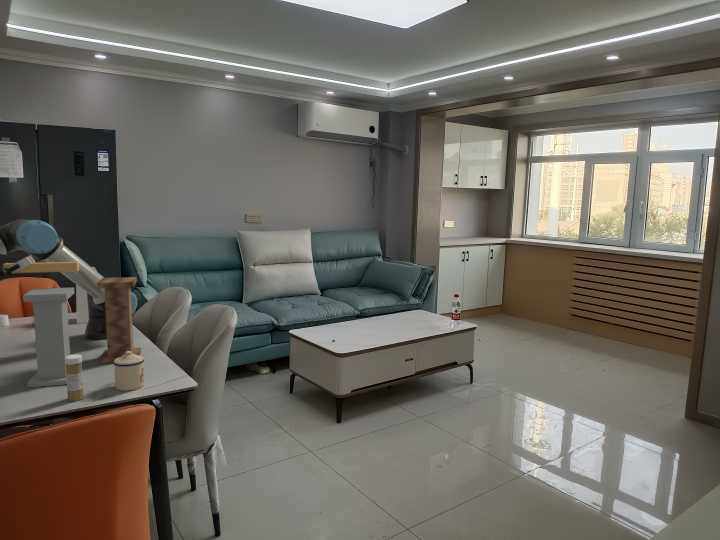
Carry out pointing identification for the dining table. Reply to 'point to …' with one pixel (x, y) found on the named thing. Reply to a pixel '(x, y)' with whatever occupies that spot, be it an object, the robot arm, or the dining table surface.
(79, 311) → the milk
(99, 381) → the dining table surface
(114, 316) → the walnut stand
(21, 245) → the robot arm
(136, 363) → the teacup with lid
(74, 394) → the sprinkles bottle
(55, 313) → the grey stand
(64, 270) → the ochre bar
